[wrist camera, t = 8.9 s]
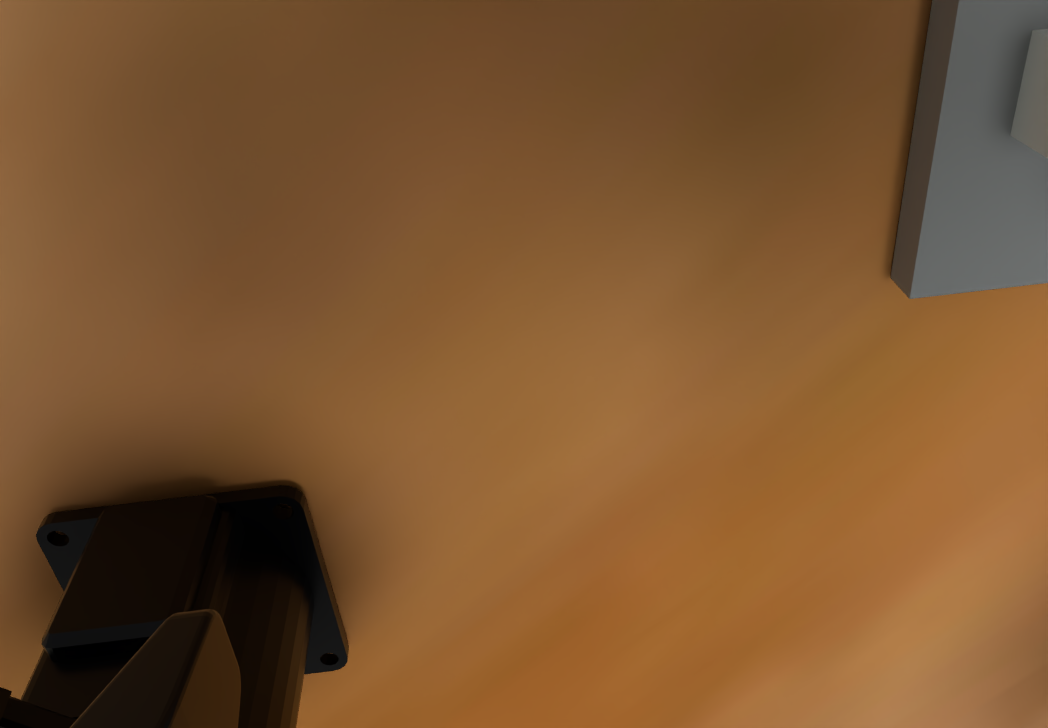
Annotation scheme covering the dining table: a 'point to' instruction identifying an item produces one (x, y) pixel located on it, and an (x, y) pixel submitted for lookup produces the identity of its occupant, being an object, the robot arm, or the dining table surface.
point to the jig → (978, 152)
